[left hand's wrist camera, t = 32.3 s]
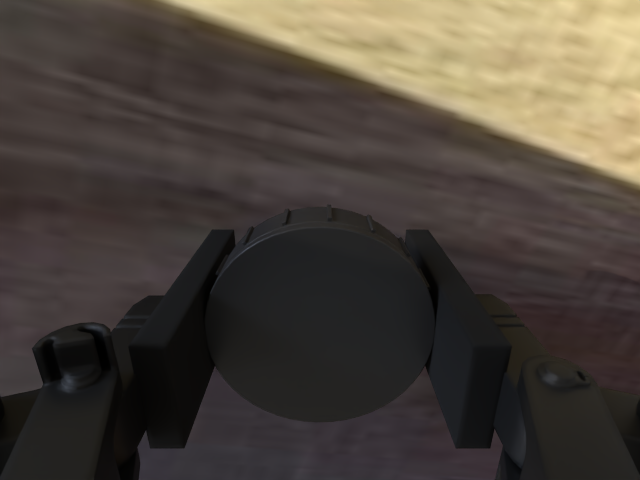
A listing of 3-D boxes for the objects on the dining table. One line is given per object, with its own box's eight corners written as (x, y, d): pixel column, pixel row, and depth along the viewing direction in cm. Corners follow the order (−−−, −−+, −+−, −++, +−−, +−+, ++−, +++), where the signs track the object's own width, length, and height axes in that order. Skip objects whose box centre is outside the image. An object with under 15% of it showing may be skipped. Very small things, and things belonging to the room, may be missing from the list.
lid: (424, 376, 13) (438, 416, 11) (237, 392, 13) (226, 433, 12) (423, 193, 11) (439, 212, 9) (195, 216, 11) (175, 239, 9)
